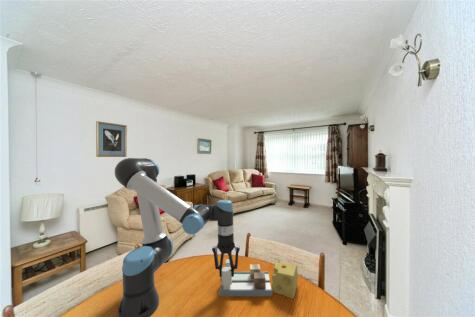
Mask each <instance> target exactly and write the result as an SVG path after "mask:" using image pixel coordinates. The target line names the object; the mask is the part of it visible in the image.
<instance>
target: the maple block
mask: <svg viewBox="0 0 475 317" xmlns="http://www.w3.org/2000/svg"><path fill="white" fill-rule="evenodd" d="M260 265H261V264H259V263H258V264H257V263H254V264H249V272H250V278H251V280H254V273H260V272H261V266H260Z"/></svg>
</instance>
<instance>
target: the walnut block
mask: <svg viewBox="0 0 475 317" xmlns="http://www.w3.org/2000/svg"><path fill="white" fill-rule="evenodd" d="M254 285H255V289H266V281H265V273H264V271H260V273H254Z"/></svg>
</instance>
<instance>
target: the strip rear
mask: <svg viewBox="0 0 475 317" xmlns="http://www.w3.org/2000/svg"><path fill="white" fill-rule="evenodd" d="M224 265H225V266H224V267H230V268H231V266H230V261H229V258H225V264H224ZM232 280H251V278H250V274H234V277H232ZM265 280H270V281H271V279H270V274H269V273H268V274H265Z"/></svg>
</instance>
